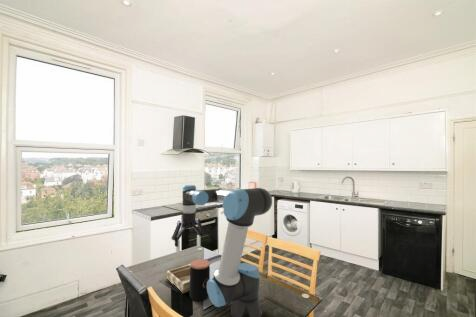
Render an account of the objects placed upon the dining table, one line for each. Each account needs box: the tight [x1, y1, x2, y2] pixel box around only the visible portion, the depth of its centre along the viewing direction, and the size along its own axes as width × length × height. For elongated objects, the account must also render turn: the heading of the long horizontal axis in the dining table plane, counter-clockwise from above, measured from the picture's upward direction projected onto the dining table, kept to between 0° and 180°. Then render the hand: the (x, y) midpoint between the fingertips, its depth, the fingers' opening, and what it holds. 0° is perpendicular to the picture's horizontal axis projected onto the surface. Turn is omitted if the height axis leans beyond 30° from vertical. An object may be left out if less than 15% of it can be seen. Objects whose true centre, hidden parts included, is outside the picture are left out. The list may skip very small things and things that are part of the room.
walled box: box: [166, 263, 191, 294], centre depth 144 cm, size 20×16×5 cm
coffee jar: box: [189, 258, 211, 302], centre depth 129 cm, size 11×11×18 cm
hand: (188, 249), depth 135 cm, fingers open, 13 cm apart
